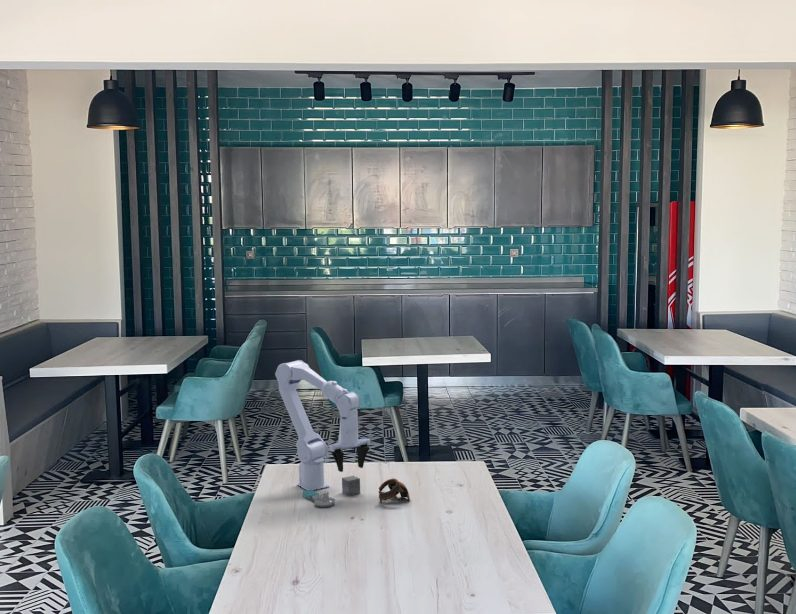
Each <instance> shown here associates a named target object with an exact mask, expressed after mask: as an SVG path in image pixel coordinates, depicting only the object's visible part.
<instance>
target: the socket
mask: <svg viewBox="0 0 796 614" xmlns="http://www.w3.org/2000/svg"><path fill="white" fill-rule="evenodd" d="M341 486H342V487H341V488H342V489H341V490H342V491H341V492H343V494H344V493H345V494H344V495H346V494H347V496H349V495H350V496H353V495H354V494H355V495H358V494H359V493H360V494H361V479H360V477H357V476H355V475H350V476H345V477H342V478H341ZM355 495H354V496H355Z"/></svg>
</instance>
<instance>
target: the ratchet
mask: <svg viewBox="0 0 796 614" xmlns="http://www.w3.org/2000/svg"><path fill="white" fill-rule="evenodd" d="M304 496H305V497H304ZM302 497H304V498H306V499H307V498H308V500H309V499H310V500H309V501H312V502H313V503H314V506H315V508H318V509H319V508H320V509H326V508H327V509H328V508H332V507H334V506H335V503H336V499H335V498H334V497H331V496H330V493H329V492H328V491H325V490H324V491H320V493H319V492H317V491H316V490H306V489H305V490H302Z"/></svg>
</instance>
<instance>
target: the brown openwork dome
mask: <svg viewBox="0 0 796 614" xmlns="http://www.w3.org/2000/svg"><path fill="white" fill-rule="evenodd" d="M386 487H388V489H389V490H388V491H383V490H384V489H385V488H386ZM398 494H400V498H401V497H403V498H407V501H408V502H409V501H410V502H411V498H410V493H409V490H408V488H407V487H406V485H405V484H404V483H403V482H401V481H399V480H398V479H396V478H394V477H393V478H389V479H387V480H385V481H384V482H382V483H381V485H379V488H378V499H379V502H380V503H382V502H383V501H388V500H391V499H393V498H394V499H398V497H397V496H398Z"/></svg>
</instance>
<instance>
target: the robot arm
mask: <svg viewBox="0 0 796 614" xmlns="http://www.w3.org/2000/svg"><path fill="white" fill-rule="evenodd" d="M274 375H275V378H276V380H277V383H278V391H279V394H280V396H281V399H282V401H283V404H284V406H285V409H286V410H287V414H288V415H289V418H290V420H291V422H292V425H293V427H294V430H295V432H296V434H297V437H298V439H297V440H296V442H295V447H296V449H297V457H298V460H300V463H299V465H298V482H297V483H296V485H297V484H298V485H299V486H298V485H297V486H298V487H300V486H301V488H302V489H303V490H305V491H306V490H313V491H316V489H317V490H321V488H322V489H326V487H327V488H329V487H330V485H329V484H327V483H325V470H324V469H325V468H324V466H325V464H324V461H325V457H326V455H327V454H328V449H329V452H330V453H331V455H332V457H333V459H334V460H335V464H336V467H337V471H338V472H341V473H343V472H344V455H345V452H344V451H342V450H345V449H346V450H347V449H353V448H355V449H356V455H357V466H358V468H360V469H364V464H365V460H366V456H367V454H368V452H369V450H370V447H369V446H370V445H371V439H369V438H360V439H359V425H358V424H359V422H358V408H359V407H360V405H361V397H360V395H359V394H358V393H356V391H348V389H347V388H343V387H342V386H341V385H339V383H338V382H337V381H336V380H328V381H327V380H326V379H325V378H323V377H322V376H321V375H319V374H318V373H317V372H316V371H315V370H314V369H311V367H310V366H309V364H308V363H305V362H304V360H301V359H297V360H294V361H290V362H283V363H280V364H278V366H277V368H276V371H275V372H274ZM302 381H305V382H307V383H308V384H310V385H312V386H314V387H315V388H317V389H319V390H320V392H321V394H322V396H323V397H325V398H326V399H328V400H329V401H330V402H332V403H334V404H335V405H336V409H337V410H338V412H339V417H340V418H339V419H340V441H339V442H335V443H332V444H328V445H329V446H328V445H327V443H326V442H325V441H324V440H323V439H322V437H321V435H320V434H318V433H317V432H315V431H314V429H313V427H312V424H311V422H310V420H309V417H308V415H307V413H306V411H305V410H306V409H305V408H304V405H303V404H302V400H301V399H300V396H299V394H298V391H297V388H298V386H299V384H300V383H301V382H302Z"/></svg>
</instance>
